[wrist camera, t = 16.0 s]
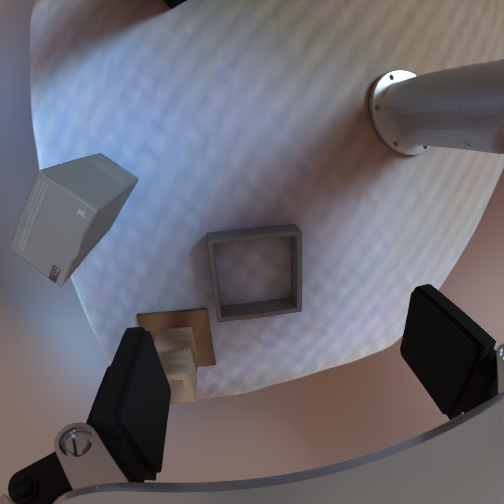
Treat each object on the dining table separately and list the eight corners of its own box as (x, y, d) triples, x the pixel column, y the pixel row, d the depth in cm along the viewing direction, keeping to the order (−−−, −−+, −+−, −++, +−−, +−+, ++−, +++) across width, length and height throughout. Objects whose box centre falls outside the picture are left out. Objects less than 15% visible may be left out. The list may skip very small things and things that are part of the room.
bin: (294, 224, 38) (301, 230, 36) (295, 300, 42) (301, 311, 39) (207, 232, 37) (207, 239, 34) (217, 310, 41) (217, 322, 38)
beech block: (191, 326, 41) (188, 374, 31) (197, 353, 42) (196, 403, 33) (157, 329, 40) (146, 376, 31) (164, 356, 42) (157, 404, 32)
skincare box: (101, 151, 32) (34, 158, 17) (145, 182, 34) (100, 207, 19) (71, 207, 34) (1, 245, 19) (112, 237, 36) (59, 292, 21)
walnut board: (206, 308, 41) (206, 310, 40) (215, 362, 44) (215, 364, 44) (137, 313, 40) (136, 316, 39) (153, 366, 43) (153, 369, 42)
